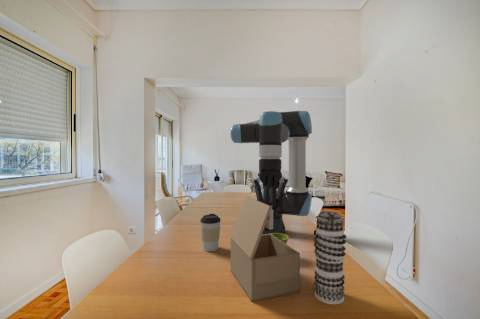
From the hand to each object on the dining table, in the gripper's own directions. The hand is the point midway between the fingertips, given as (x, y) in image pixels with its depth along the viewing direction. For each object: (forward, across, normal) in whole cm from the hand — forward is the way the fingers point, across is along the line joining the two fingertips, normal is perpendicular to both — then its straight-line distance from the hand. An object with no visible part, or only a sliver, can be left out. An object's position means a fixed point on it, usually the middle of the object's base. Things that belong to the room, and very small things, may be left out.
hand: (269, 228), depth 85 cm
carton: (+18, +2, 0) cm, 18 cm away
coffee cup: (+17, +12, -34) cm, 40 cm away
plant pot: (+17, -12, -16) cm, 27 cm away
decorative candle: (+18, -13, +15) cm, 26 cm away
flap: (-2, +7, 0) cm, 7 cm away
